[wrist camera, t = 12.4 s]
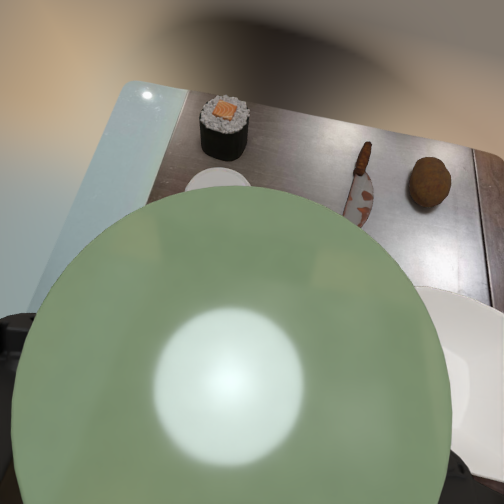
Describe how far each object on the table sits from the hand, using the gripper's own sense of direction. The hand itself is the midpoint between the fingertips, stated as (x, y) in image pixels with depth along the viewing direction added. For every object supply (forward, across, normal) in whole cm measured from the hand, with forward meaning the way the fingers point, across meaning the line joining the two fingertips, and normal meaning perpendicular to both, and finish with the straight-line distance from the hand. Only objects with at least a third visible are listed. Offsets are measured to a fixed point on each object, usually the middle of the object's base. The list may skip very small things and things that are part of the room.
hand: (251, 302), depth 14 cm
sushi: (+56, -11, +2) cm, 57 cm away
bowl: (+32, +27, -22) cm, 47 cm away
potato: (+55, +26, +1) cm, 61 cm away
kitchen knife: (+53, +15, -1) cm, 55 cm away
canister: (0, 0, -5) cm, 5 cm away
